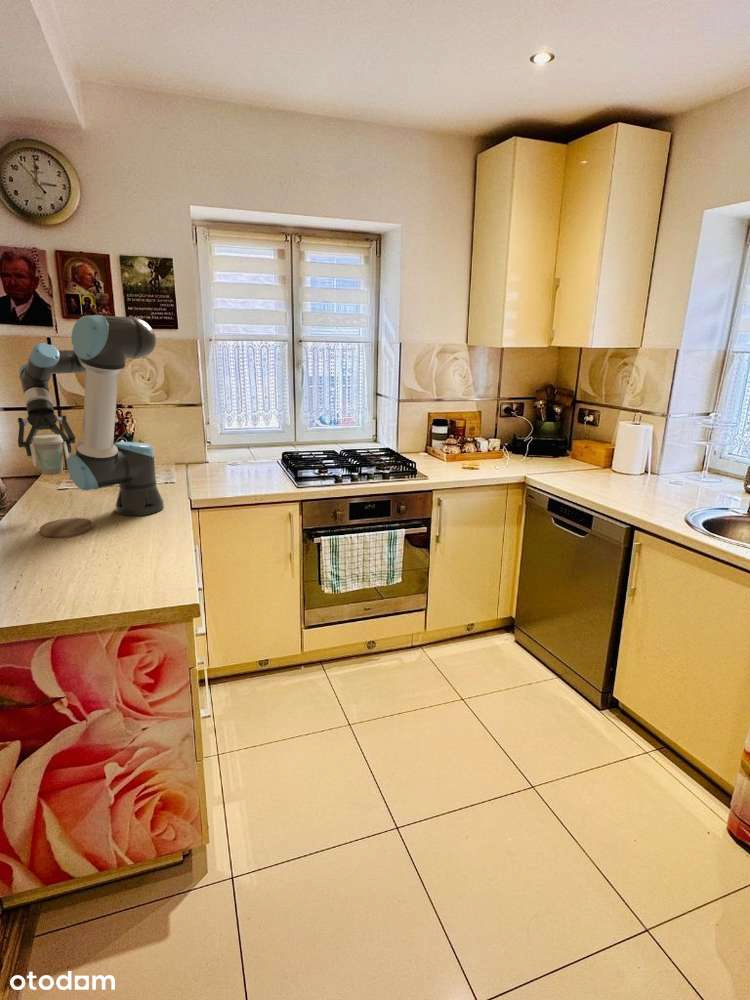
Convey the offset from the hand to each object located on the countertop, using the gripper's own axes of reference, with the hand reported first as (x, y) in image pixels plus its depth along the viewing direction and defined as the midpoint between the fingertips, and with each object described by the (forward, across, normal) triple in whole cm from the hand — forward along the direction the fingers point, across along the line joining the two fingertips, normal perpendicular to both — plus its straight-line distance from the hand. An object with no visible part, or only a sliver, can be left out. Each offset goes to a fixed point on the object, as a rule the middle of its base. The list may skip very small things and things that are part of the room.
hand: (51, 462), depth 174 cm
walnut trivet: (+23, 0, -4) cm, 23 cm away
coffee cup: (+1, 0, -6) cm, 6 cm away
